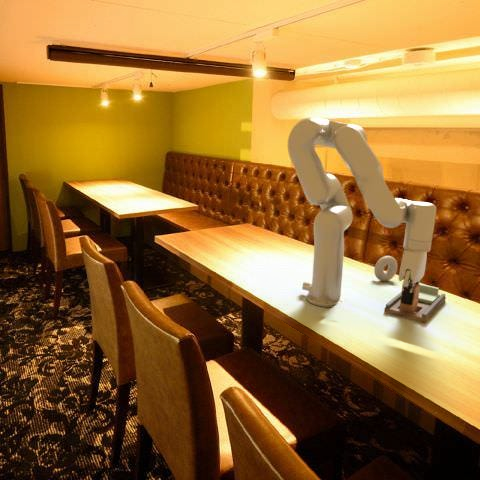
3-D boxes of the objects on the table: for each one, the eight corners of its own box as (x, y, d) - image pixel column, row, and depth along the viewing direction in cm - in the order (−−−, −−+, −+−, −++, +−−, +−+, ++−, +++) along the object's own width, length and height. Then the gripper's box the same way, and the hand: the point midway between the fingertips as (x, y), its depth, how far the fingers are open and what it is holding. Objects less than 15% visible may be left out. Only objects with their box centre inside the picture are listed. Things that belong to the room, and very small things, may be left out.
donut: (377, 284, 162) (379, 258, 160) (371, 281, 165) (373, 255, 163) (398, 280, 166) (400, 255, 164) (391, 278, 169) (394, 253, 167)
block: (399, 309, 134) (402, 285, 132) (403, 305, 137) (406, 281, 135) (412, 313, 132) (415, 288, 129) (416, 309, 135) (420, 284, 132)
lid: (402, 297, 142) (403, 288, 141) (410, 290, 148) (412, 281, 147) (432, 304, 136) (433, 295, 136) (439, 296, 142) (440, 288, 142)
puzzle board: (383, 316, 134) (385, 304, 133) (407, 296, 151) (409, 285, 150) (423, 328, 127) (425, 315, 126) (444, 305, 144) (446, 294, 143)
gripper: (413, 236, 137) (405, 291, 142) (394, 247, 125) (386, 306, 130) (438, 241, 133) (429, 297, 138) (421, 252, 120) (412, 313, 125)
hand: (409, 301), depth 134 cm, fingers closed on block, 4 cm apart
